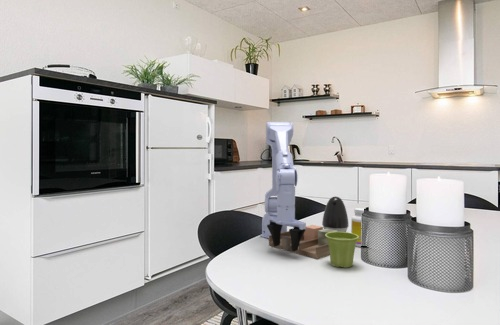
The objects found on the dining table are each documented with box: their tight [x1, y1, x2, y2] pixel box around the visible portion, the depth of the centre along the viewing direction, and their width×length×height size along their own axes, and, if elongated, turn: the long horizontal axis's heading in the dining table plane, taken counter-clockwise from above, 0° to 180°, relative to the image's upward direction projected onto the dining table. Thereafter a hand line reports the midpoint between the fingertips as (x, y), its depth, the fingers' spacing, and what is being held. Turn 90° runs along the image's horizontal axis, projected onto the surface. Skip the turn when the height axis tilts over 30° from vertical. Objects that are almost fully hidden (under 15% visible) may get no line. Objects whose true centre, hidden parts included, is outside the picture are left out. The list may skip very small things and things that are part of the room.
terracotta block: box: [281, 224, 324, 251], centre depth 118 cm, size 4×19×5 cm, turn 134°
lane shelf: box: [268, 228, 338, 260], centre depth 120 cm, size 20×16×6 cm
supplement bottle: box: [350, 207, 365, 248], centre depth 123 cm, size 7×7×13 cm
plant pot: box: [325, 231, 359, 269], centre depth 102 cm, size 9×9×9 cm
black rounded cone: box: [321, 196, 349, 232], centre depth 139 cm, size 10×10×15 cm
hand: (285, 248), depth 112 cm, fingers open, 7 cm apart
